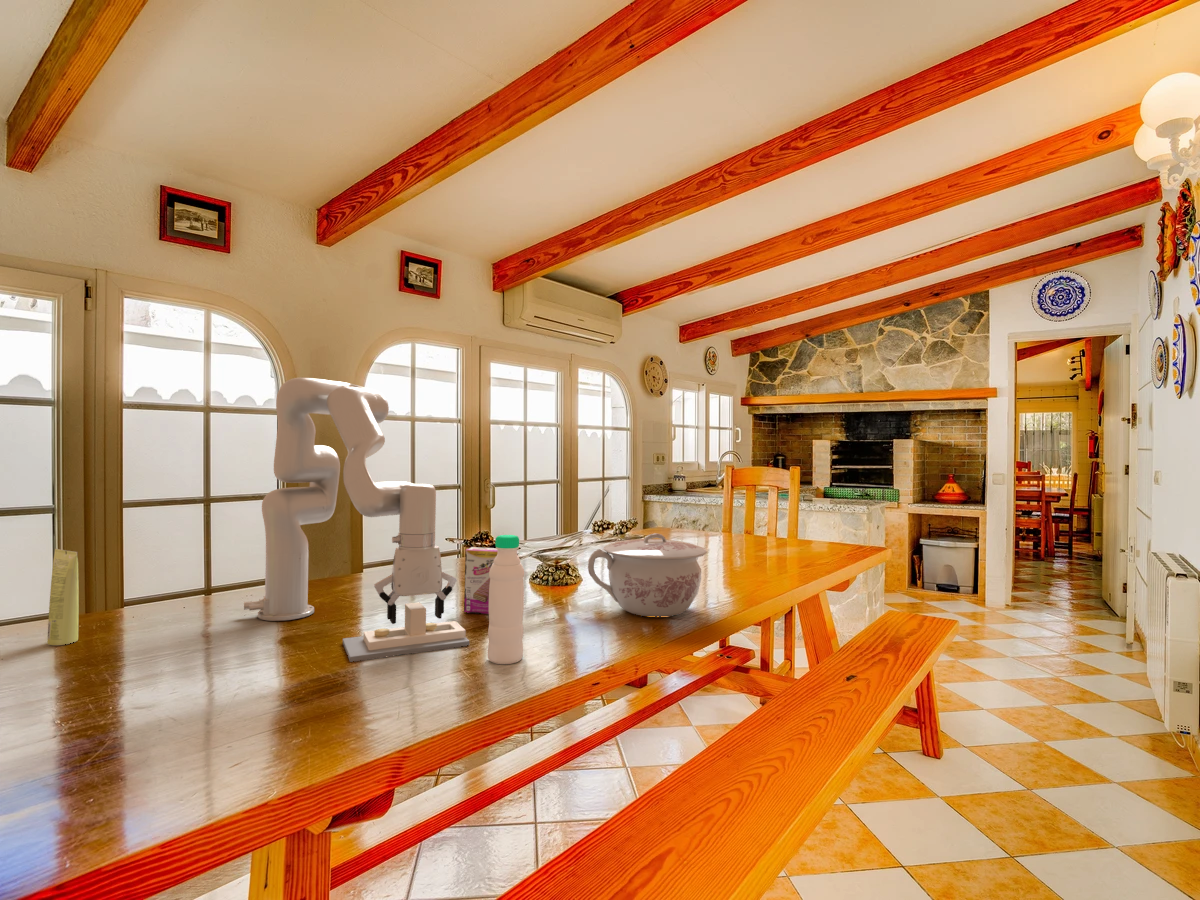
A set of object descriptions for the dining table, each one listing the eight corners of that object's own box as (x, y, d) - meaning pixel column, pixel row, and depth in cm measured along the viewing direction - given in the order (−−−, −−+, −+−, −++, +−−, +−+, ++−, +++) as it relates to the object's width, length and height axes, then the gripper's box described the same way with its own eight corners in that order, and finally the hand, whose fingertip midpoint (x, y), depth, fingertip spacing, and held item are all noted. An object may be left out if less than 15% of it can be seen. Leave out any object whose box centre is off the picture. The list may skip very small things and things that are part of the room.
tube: (86, 637, 134) (87, 547, 134) (75, 645, 129) (77, 551, 129) (53, 640, 132) (55, 548, 132) (41, 647, 127) (43, 552, 127)
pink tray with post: (369, 650, 127) (369, 615, 127) (363, 639, 134) (363, 606, 134) (465, 637, 136) (466, 605, 136) (455, 627, 143) (456, 597, 143)
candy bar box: (463, 613, 159) (464, 549, 159) (469, 608, 164) (470, 546, 164) (506, 615, 158) (507, 551, 158) (510, 610, 163) (511, 548, 163)
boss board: (350, 662, 122) (350, 643, 122) (342, 643, 134) (342, 626, 134) (469, 645, 134) (469, 628, 134) (453, 629, 145) (453, 614, 145)
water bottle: (528, 656, 128) (530, 534, 128) (512, 667, 121) (515, 539, 121) (498, 651, 130) (500, 532, 130) (481, 662, 123) (483, 536, 123)
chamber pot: (721, 608, 169) (723, 532, 169) (678, 632, 146) (680, 544, 146) (632, 593, 184) (633, 524, 184) (580, 613, 161) (581, 534, 161)
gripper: (378, 545, 127) (376, 629, 127) (461, 541, 136) (460, 619, 136) (372, 540, 134) (371, 619, 134) (452, 536, 142) (450, 611, 142)
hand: (415, 619), depth 135 cm, fingers open, 9 cm apart
